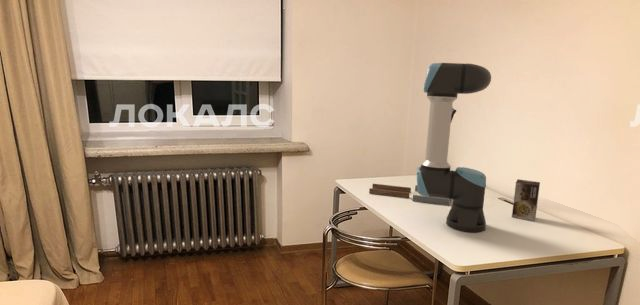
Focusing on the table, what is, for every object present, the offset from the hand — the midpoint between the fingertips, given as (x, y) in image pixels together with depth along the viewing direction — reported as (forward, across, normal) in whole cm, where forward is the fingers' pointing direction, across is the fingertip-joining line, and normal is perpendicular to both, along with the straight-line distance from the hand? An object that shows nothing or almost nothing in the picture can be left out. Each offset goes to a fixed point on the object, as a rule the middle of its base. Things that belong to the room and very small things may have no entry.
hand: (440, 140), depth 206 cm
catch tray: (+27, +3, +18) cm, 32 cm away
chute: (+27, +23, +18) cm, 39 cm away
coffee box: (+27, -37, +32) cm, 56 cm away
